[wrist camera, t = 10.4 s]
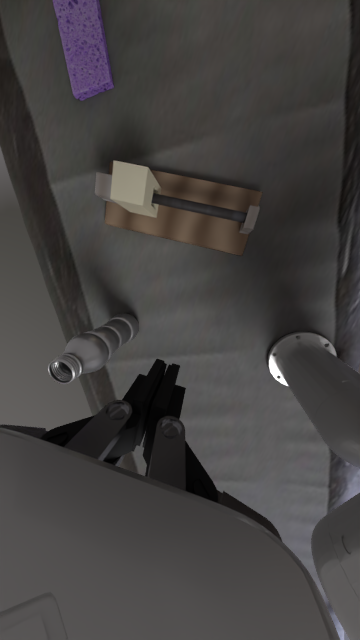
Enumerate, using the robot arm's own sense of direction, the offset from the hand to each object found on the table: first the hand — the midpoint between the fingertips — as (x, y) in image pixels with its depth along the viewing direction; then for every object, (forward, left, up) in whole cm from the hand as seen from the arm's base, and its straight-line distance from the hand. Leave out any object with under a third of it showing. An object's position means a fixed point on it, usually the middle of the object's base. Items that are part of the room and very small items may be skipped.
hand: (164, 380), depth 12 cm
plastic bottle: (+14, +9, -27) cm, 32 cm away
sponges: (+28, -36, -28) cm, 53 cm away
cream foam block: (+13, -16, -24) cm, 32 cm away
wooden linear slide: (+8, -16, -27) cm, 32 cm away
